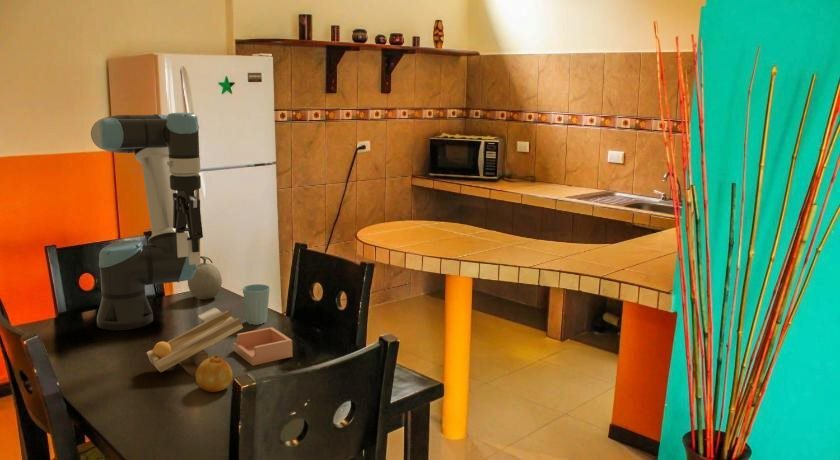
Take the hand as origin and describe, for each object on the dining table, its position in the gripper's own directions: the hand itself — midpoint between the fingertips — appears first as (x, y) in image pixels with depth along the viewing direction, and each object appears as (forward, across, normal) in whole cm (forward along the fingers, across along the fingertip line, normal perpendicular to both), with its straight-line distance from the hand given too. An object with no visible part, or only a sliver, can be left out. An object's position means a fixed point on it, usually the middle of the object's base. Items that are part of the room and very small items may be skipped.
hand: (188, 260), depth 194 cm
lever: (+18, +10, -4) cm, 21 cm away
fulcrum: (+23, +15, -4) cm, 28 cm away
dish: (+23, +16, +13) cm, 31 cm away
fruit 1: (+24, -39, +18) cm, 49 cm away
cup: (+24, -8, +22) cm, 33 cm away
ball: (+17, +15, -12) cm, 26 cm away
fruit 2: (+24, +30, -6) cm, 39 cm away
